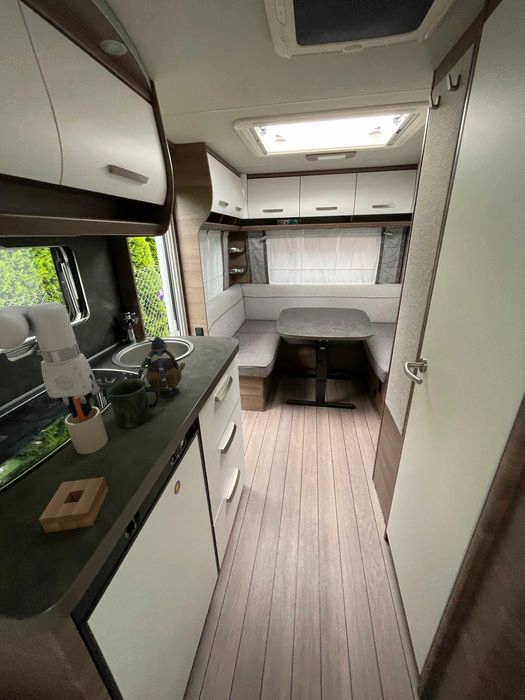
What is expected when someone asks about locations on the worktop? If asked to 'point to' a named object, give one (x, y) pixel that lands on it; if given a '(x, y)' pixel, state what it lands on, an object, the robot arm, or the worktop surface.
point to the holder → (74, 505)
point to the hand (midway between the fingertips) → (82, 413)
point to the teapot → (162, 371)
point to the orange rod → (79, 409)
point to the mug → (131, 402)
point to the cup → (87, 432)
